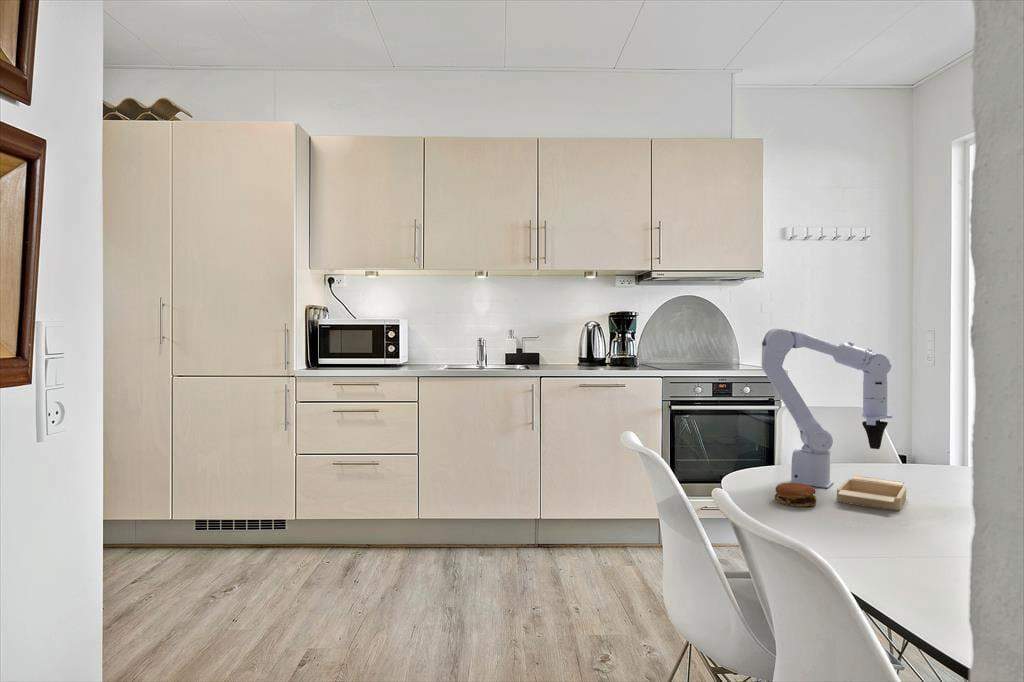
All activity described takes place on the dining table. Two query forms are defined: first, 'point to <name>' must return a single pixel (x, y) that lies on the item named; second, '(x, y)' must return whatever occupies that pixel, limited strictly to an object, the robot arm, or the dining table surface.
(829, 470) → the robot arm
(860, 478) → the flap
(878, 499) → the flap
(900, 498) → the carton
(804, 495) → the burger
